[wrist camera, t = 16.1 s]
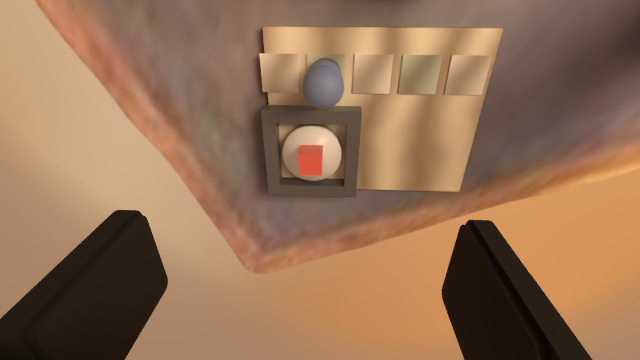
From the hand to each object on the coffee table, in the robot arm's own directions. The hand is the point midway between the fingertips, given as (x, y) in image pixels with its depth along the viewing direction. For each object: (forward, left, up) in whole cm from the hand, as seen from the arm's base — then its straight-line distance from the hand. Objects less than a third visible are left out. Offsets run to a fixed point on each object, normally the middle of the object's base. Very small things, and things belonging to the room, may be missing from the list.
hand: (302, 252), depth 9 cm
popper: (+1, +9, -27) cm, 29 cm away
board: (-6, +5, -28) cm, 29 cm away
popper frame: (+1, +9, -28) cm, 29 cm away
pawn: (0, 0, -27) cm, 27 cm away
